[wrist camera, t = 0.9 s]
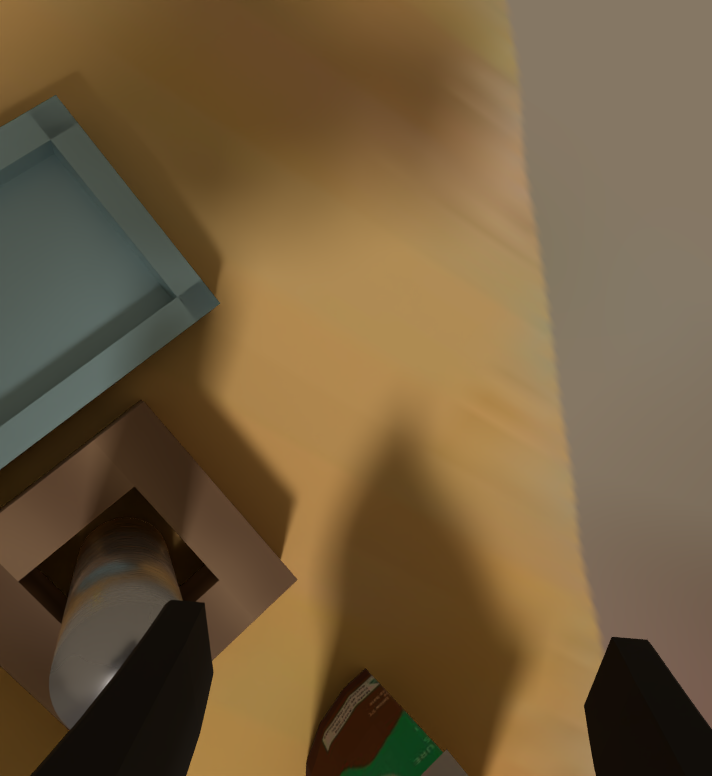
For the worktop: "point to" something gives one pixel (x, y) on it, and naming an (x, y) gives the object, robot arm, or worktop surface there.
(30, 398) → the tray
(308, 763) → the food container
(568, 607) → the worktop surface
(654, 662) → the robot arm
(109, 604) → the pin
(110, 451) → the holder
